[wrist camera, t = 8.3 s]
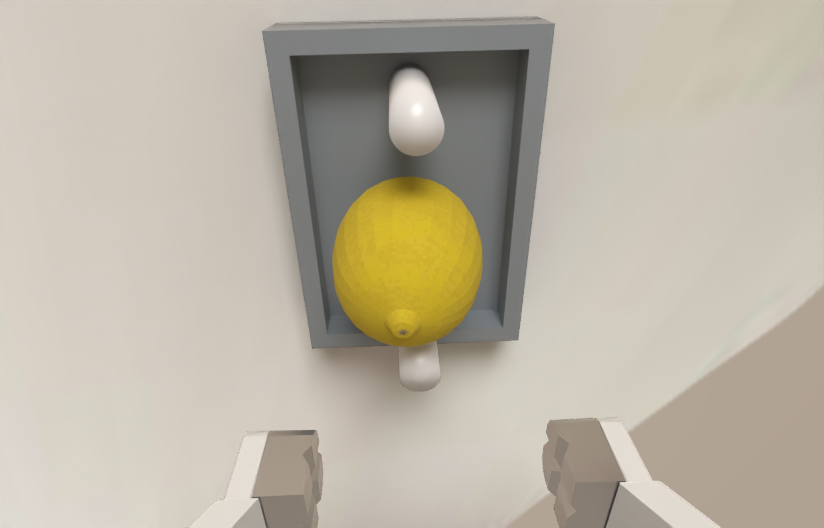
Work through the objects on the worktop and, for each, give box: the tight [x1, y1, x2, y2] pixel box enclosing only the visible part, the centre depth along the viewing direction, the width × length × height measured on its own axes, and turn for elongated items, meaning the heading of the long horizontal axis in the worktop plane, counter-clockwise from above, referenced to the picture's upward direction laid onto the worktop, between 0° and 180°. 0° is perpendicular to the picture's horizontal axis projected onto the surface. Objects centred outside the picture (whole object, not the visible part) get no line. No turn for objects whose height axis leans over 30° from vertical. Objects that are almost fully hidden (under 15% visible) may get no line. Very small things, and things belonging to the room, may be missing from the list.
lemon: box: [332, 177, 483, 347], centre depth 19 cm, size 6×6×8 cm
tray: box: [262, 17, 555, 391], centre depth 20 cm, size 14×10×7 cm
